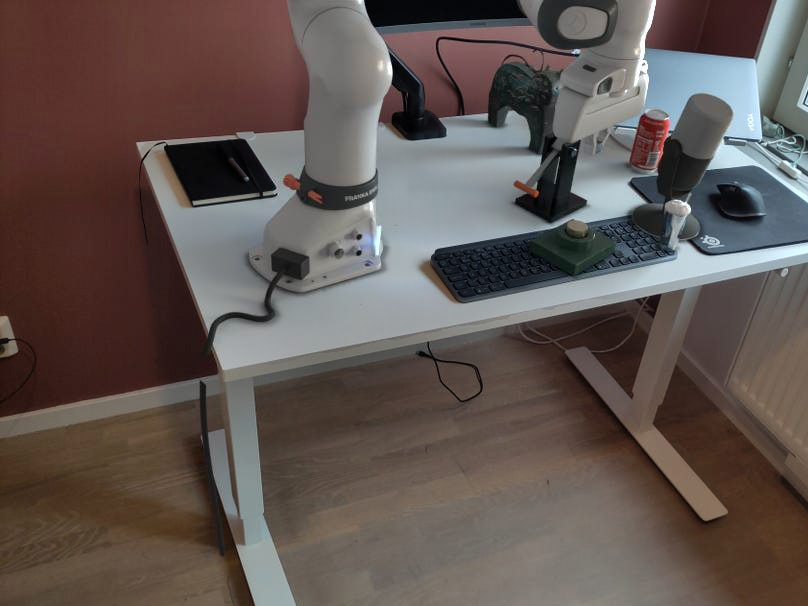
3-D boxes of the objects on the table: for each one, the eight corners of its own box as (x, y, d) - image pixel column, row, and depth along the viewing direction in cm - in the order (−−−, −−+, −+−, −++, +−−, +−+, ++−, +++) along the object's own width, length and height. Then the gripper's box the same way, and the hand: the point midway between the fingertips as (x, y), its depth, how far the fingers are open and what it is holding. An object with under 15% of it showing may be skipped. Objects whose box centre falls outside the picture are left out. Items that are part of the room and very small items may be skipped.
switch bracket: (550, 223, 153) (563, 155, 144) (514, 203, 157) (524, 136, 149) (586, 205, 160) (600, 139, 151) (550, 187, 164) (562, 121, 155)
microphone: (671, 248, 151) (710, 118, 135) (618, 216, 158) (649, 89, 142) (712, 228, 158) (754, 103, 142) (660, 199, 165) (694, 76, 149)
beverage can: (655, 162, 178) (669, 109, 170) (659, 176, 173) (674, 121, 165) (626, 159, 178) (639, 105, 170) (630, 172, 173) (643, 118, 165)
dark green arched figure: (559, 154, 176) (576, 60, 163) (537, 160, 173) (552, 65, 160) (500, 117, 187) (512, 27, 174) (478, 123, 184) (488, 31, 171)
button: (577, 242, 142) (579, 233, 141) (561, 233, 144) (563, 224, 143) (590, 235, 144) (592, 226, 143) (573, 226, 146) (575, 217, 145)
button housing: (573, 276, 140) (577, 256, 138) (529, 250, 145) (532, 231, 143) (614, 252, 148) (619, 233, 145) (570, 229, 152) (574, 210, 150)
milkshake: (686, 247, 152) (701, 198, 145) (669, 256, 149) (683, 207, 142) (666, 236, 154) (680, 188, 148) (649, 244, 151) (662, 196, 145)
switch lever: (535, 200, 149) (533, 192, 147) (515, 189, 151) (511, 181, 149) (577, 150, 151) (575, 142, 149) (556, 140, 153) (554, 132, 151)
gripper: (632, 48, 133) (614, 129, 142) (553, 74, 121) (539, 161, 130) (665, 61, 130) (644, 143, 139) (587, 89, 118) (570, 177, 127)
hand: (593, 152), depth 134 cm, fingers closed
